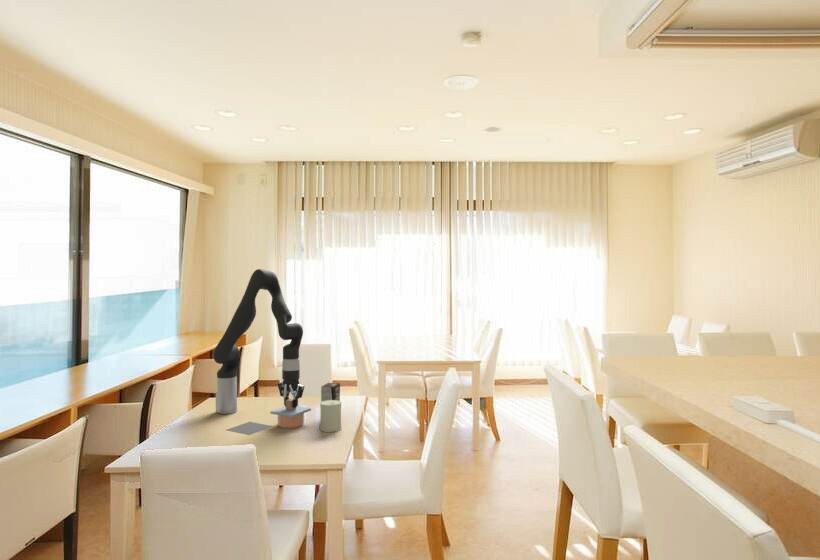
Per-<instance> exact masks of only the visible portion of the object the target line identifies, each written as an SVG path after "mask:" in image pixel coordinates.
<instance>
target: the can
mask: <svg viewBox="0 0 820 560" xmlns="http://www.w3.org/2000/svg"><path fill="white" fill-rule="evenodd" d="M319 404H320V405H319V406H320V408H319V409H320V424H319V425H320V427H319V429H320V431H321V432H325V433H333V432H334V431H335V432H338V431H341V430H342V401H341V400H340V401H338V400H326V401H322V402H321V401H320V403H319ZM340 429H341V430H340Z"/></svg>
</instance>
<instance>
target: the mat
mask: <svg viewBox="0 0 820 560" xmlns="http://www.w3.org/2000/svg"><path fill="white" fill-rule="evenodd" d="M272 427H273V425H269V424H265V423H264V424H263V423H259V422H253V421H248V422H245V423H242V424H239V425H237V426H233V427H230V428H227V429H226V431H227V432H232V433H237V434H238V433H239V434H243V435H248V436H250V435H253V434H256V433H258V432H260V431H261V432H262V431H263V430H266V429H269V428H272Z"/></svg>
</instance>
